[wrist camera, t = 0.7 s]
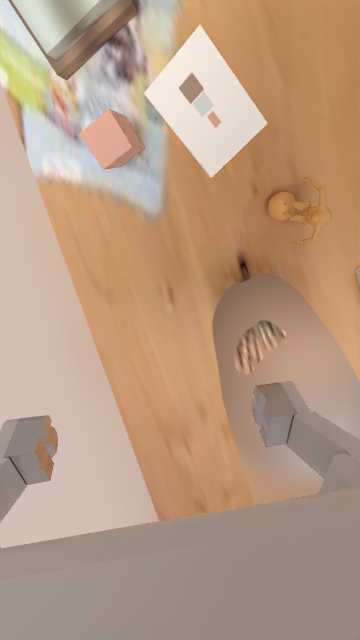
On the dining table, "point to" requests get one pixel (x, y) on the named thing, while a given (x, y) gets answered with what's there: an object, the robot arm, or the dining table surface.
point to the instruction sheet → (205, 103)
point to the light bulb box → (358, 275)
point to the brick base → (89, 39)
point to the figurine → (286, 205)
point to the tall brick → (112, 140)
